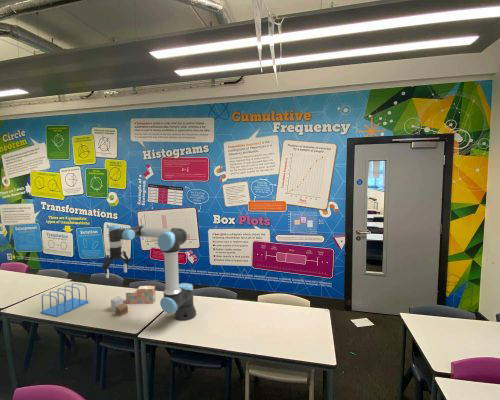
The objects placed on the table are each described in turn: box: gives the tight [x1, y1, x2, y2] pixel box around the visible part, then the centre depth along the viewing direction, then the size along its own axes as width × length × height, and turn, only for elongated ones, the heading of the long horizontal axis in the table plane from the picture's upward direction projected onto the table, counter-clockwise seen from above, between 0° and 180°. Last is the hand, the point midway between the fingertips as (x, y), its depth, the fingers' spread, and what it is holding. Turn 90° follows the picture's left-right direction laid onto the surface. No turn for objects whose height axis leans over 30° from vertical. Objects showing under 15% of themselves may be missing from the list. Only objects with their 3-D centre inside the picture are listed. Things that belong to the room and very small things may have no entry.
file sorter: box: [40, 282, 89, 318], centre depth 206 cm, size 25×17×15 cm
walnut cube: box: [114, 303, 129, 317], centre depth 197 cm, size 6×6×6 cm
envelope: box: [108, 306, 135, 313], centre depth 201 cm, size 16×16×1 cm
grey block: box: [110, 296, 124, 312], centre depth 204 cm, size 6×6×8 cm
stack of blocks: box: [125, 285, 156, 305], centre depth 216 cm, size 21×6×12 cm, turn 91°
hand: (116, 274), depth 197 cm, fingers open, 13 cm apart
